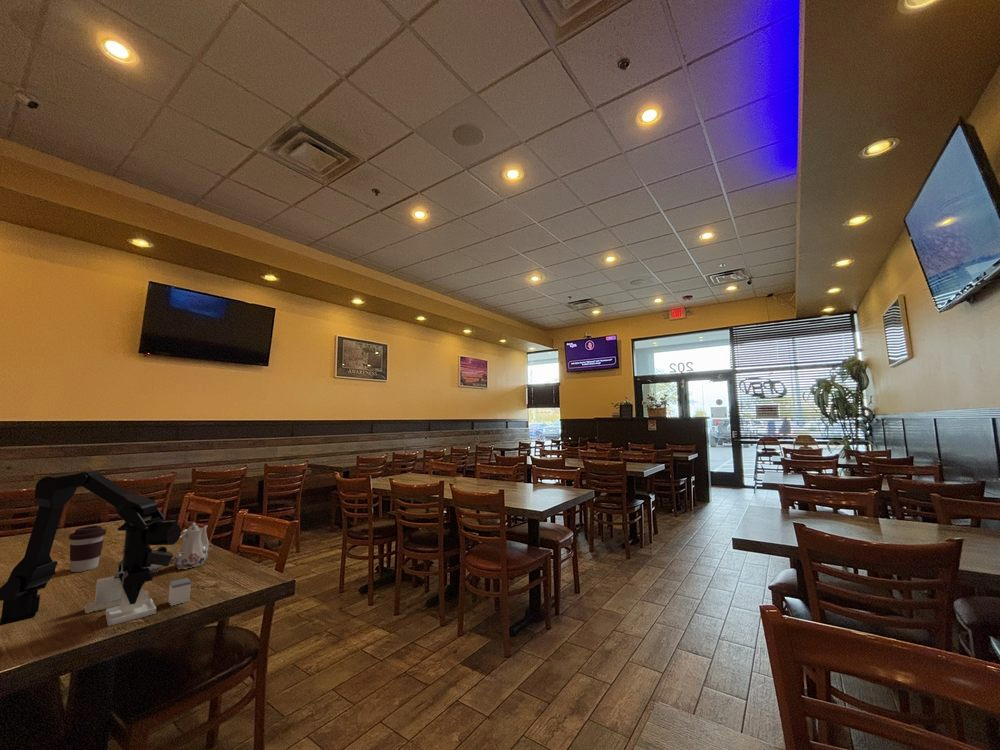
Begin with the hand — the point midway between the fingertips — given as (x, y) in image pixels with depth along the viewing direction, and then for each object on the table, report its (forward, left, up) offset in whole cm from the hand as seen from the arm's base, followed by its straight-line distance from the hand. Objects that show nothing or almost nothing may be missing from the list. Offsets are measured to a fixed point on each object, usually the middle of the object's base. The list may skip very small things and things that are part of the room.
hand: (131, 601), depth 117 cm
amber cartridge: (0, 0, -2) cm, 2 cm away
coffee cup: (-8, +61, -4) cm, 62 cm away
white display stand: (-2, +12, -4) cm, 13 cm away
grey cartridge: (+11, 0, -4) cm, 12 cm away
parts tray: (0, 0, -4) cm, 4 cm away
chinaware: (+18, +39, -4) cm, 43 cm away
